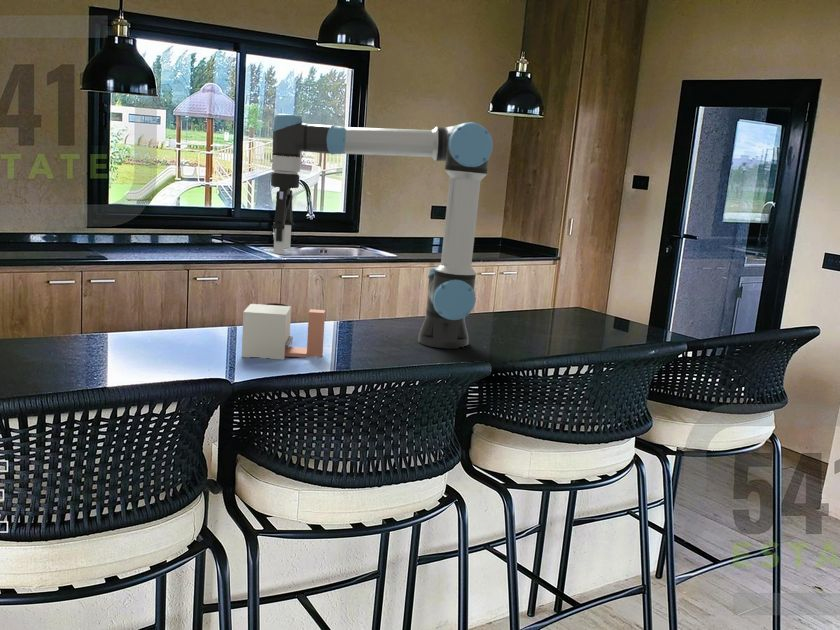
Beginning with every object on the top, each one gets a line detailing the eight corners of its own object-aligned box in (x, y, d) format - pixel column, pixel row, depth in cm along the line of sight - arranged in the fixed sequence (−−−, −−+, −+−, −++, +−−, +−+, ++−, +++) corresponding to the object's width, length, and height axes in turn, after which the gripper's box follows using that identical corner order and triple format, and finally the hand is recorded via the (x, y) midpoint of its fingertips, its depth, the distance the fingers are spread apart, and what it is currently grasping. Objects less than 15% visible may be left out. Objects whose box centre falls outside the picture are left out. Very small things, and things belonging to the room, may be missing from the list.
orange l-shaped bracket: (323, 352, 230) (325, 309, 228) (321, 358, 224) (323, 314, 221) (254, 348, 229) (256, 304, 227) (250, 354, 223) (252, 309, 220)
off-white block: (292, 349, 233) (294, 306, 230) (287, 359, 221) (289, 314, 219) (248, 346, 232) (250, 303, 230) (241, 357, 220) (243, 311, 218)
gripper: (278, 170, 241) (274, 244, 245) (264, 172, 216) (261, 254, 220) (304, 172, 241) (300, 246, 245) (293, 174, 216) (290, 256, 220)
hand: (282, 250), depth 232 cm, fingers open, 13 cm apart
